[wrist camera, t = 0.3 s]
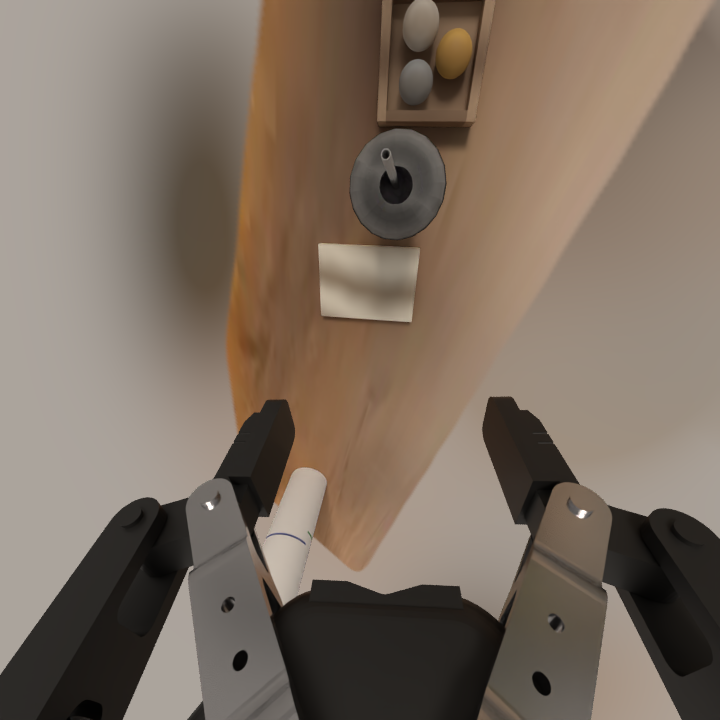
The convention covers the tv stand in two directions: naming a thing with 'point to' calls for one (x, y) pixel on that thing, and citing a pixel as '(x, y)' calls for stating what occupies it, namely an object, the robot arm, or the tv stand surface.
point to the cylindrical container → (294, 530)
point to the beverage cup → (397, 184)
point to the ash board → (368, 281)
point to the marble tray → (432, 61)
